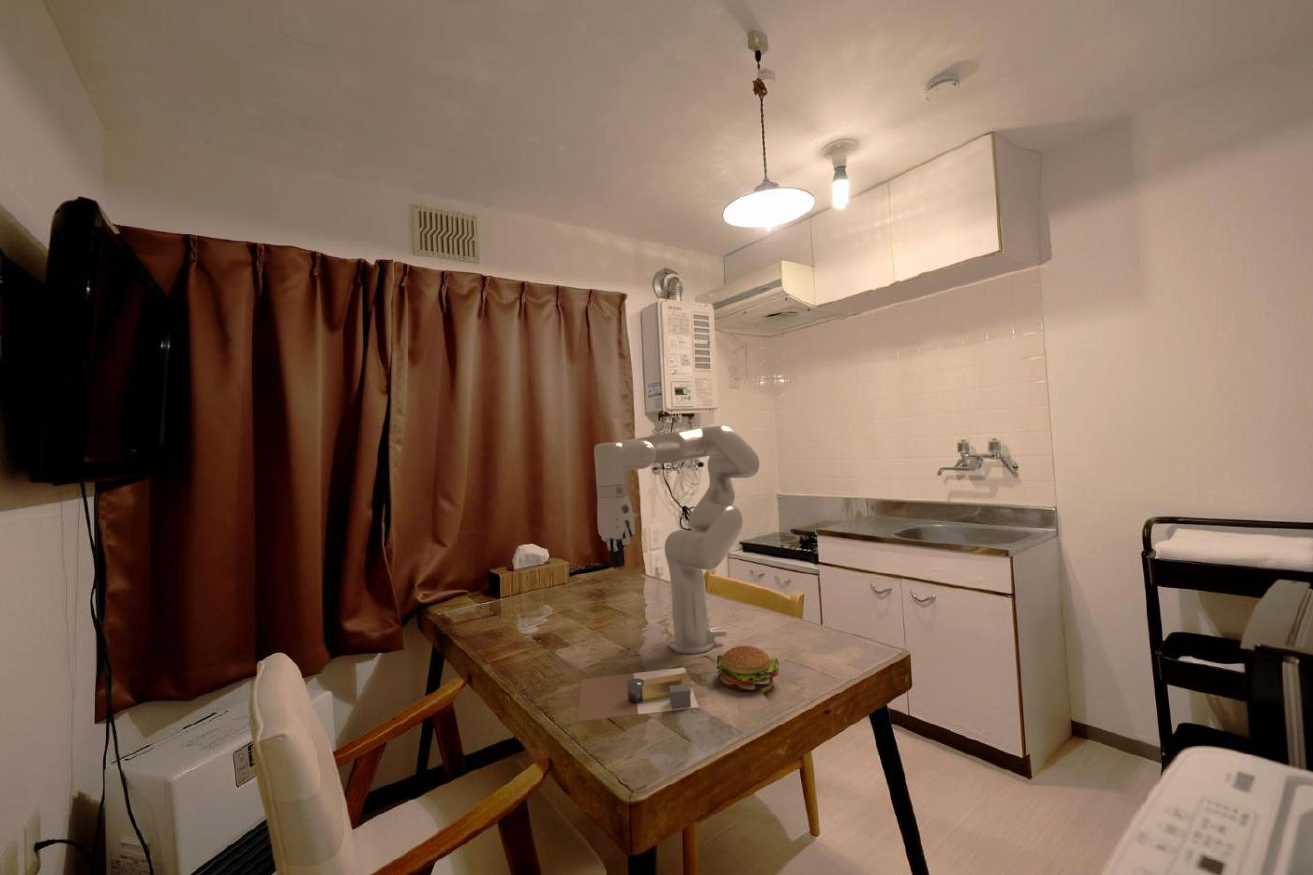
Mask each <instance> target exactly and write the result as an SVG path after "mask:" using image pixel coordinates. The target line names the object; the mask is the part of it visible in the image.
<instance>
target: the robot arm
mask: <svg viewBox="0 0 1313 875" xmlns="http://www.w3.org/2000/svg"><path fill="white" fill-rule="evenodd" d="M593 450H594V451H593V453H594V466H595V467H594V468H595V479H596V480H595V481H596V493H597V494H596V495H597V504H596V505H597V507H596V508H597V509H596V512H597V515H596V517H597V520H596V521H597V530H598V531H597V532H598V534H599V536H600V537H601V541H604V542H605V543H606V546H607V550H608V551H609V562H610V567H611V568H614V569H617V568H619V567H624V566H625V564H626V563H625V562H626V561H625V550H626V545H629V544H631V543H632V541H631V538H634V537H635V535H636V526H635V520H634V519H635V518H634V512H633V507H632V502H631V499H630V497H629V493H628V480H627V479H628V478H627V470H643V469H647V468H649V467H650V466H652V465H653V464H673V463H680V462H685V461H689V460H695V459H699V458H704V457H709V458H708V460H707V471H708V476H709V484H708V488H707V490H706V492H705V493H704V494H703V496H702V497H701V499H700V500H699V501H698V503H697V504H696V505H695V506H694V508H693V510H692V512H691V513H690V515H689V518H688V526H689V528H690V529H691V530H689V529H678V530H675V531H673V532H671V533H669V535H668V536H667V538H666V539H665V543H664V555H665V558H666V561H667V566H668V567H667V568H668V571H669V579H670V580H669V581H670V592H671V593H670V594H671V605H672V607H671V608H672V619H673V620H672V622H673V636H672V637H671V638H670V640H669V641H668V647H669V648H670V649H671V651H673V652H676V653H678V654H679V653H680V654H685V655H686V654H687V655H688V654H689V655H691V654H700V653H704V652H707V651H710V650H711V649H713V648H714V647H715V644H716V642H715V641H716V640H715V638H718V637H719V638H722V637H727V632H726V628H723V629H720V628H719V627H713V628H712V627H710V626H709V620H708V606H707V604H708V603H707V592H706V591H707V590H706V580H705V575H704V571H703V570H707V571H711V570H714V569H716V568H717V567H719V565H720V564H721V563H723V561H724V559H725V558H726V556H727V555H728V553H729V551H730V550H731V549H732V547H733V545H734V544H735V542H736V541H737V539H738V537H739V535H740V533H741V532H742V528H743V515H742V512H741V510H740V509H739V507H737V506H735V505H734V503H735V498H736V493H735V489H734V486H733V485H734V484H733V482H732V479H748V478H749V479H750V478H753V477H754V476H755V475H756V474H757V473H758V472H759V469H760V459H759V456H758V454H757V453H756V451H755V450H754V449H753V448H752V447H751V446H750V444H748V443H747V442H746V441H745V440H744V439H743V438H742V437H741V435H740V434H738V433H737V432H736V431H735V430H734V429H732V428H731V427H729V426H726V425H714V426H703V427H694V428H690V429H683V430H678V431H677V430H676V431H670V432H663V433H659V434H655V435H650V436H645V437H638V438H637V437H636V438H632V439H625V440H619V441H614V442H602V443H597V444H596V445H595V446H594V449H593Z"/></svg>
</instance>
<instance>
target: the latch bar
mask: <svg viewBox="0 0 1313 875" xmlns="http://www.w3.org/2000/svg"><path fill="white" fill-rule="evenodd" d="M682 684H688V686H689V689H690V693H692V690H693V689H692V690H691V687H692V680H691V676H690V674H689V673H688V672H686V673H681V674H675V675H669V676H663V677H657V678H651V679H645V680H642V679H639V678H635V679H631V680H629V681H628V682H627V689H628V701H629V702H631V703H640V702H642V701H646V700H652V699H658V698H663V697H669V696H670V693H669V686H673V685H682Z"/></svg>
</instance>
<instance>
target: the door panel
mask: <svg viewBox="0 0 1313 875" xmlns="http://www.w3.org/2000/svg"><path fill="white" fill-rule="evenodd" d="M681 673H687V670H686V668H685V667H676V668H669V669H659V670H651V671H650V670H649V671H643V672H642V671H641V672H631V673H625V674H624V673H623V674H616V675H606V676H605V675H604V676H598V677H590V678H589V677H588V678H581V679H580V688H579V689H580V690H579V698H578V707H577V716H576V723H579V722H588V721H598V720H605V719H614V718H621V717H630V716H637V715H646V714H655V713H662V712H663V713H664V712H671V711H679V710H687V709H688V710H689V709H695V708H699V705H698V702H697V700H696V699H697V698H696V696H695V694H694V690H693V688H692V686H691V690H692V693H690V689H689V686H688V684H682V685H673V686H669V693H670V696H669V697H663V698H658V699H652V700H646V701H642V702H640V703H631V702H629V701H628V689H627V682H628V681H629V680H631V679H635V678H639V679H642V680H645V679H651V678H657V677H663V676H669V675H675V674H681Z"/></svg>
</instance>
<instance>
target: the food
mask: <svg viewBox="0 0 1313 875" xmlns="http://www.w3.org/2000/svg"><path fill="white" fill-rule="evenodd" d="M716 664H717V668H716V669H717V672H716V673H717V674H718V679H719V682H720V683H721V684H722V685H723V686H724V687H727V688H728V689H731V690H734V691H739V692H755V691H761V693H762V694H764V693H767V692H769V691H771V688H772V687H774V678H775V677H777V676H778V674H779V666H780V663H779V660H778V658H776V657H775V658H773V657H772V658H771V657H770V656H769V654H768V653H767V652H765V651H764V650H763V649H761V648H759V647H756V646H752V645H740V646H739V645H738V646H734V647H731V648H730V649H729V650H727V651H726V652H724V653H723V654H719V655H717V657H716Z"/></svg>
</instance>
